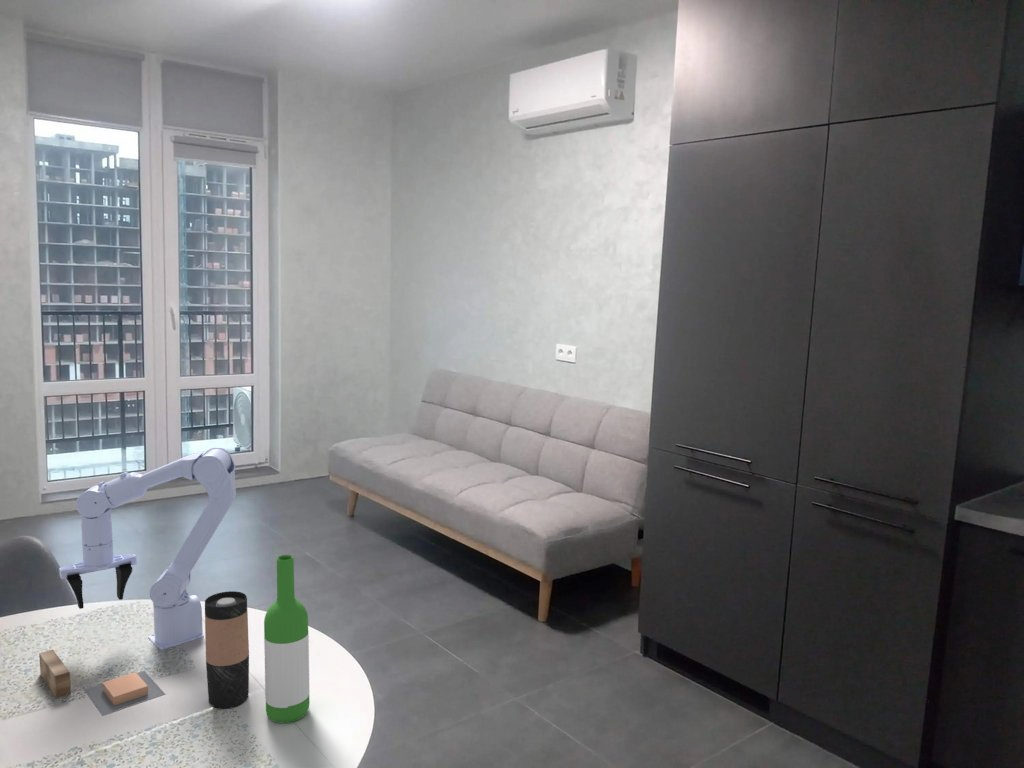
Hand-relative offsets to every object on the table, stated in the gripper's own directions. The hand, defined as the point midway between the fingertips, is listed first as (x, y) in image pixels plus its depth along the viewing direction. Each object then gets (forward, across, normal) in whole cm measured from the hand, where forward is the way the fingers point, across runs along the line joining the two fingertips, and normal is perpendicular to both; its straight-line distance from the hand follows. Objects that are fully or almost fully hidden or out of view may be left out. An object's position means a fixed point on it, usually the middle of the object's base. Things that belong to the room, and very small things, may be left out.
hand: (100, 602), depth 164 cm
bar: (+10, -11, -14) cm, 20 cm away
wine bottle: (+10, +20, -51) cm, 56 cm away
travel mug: (+10, +14, -39) cm, 43 cm away
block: (+8, -2, -22) cm, 24 cm away
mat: (+9, -1, -25) cm, 27 cm away
